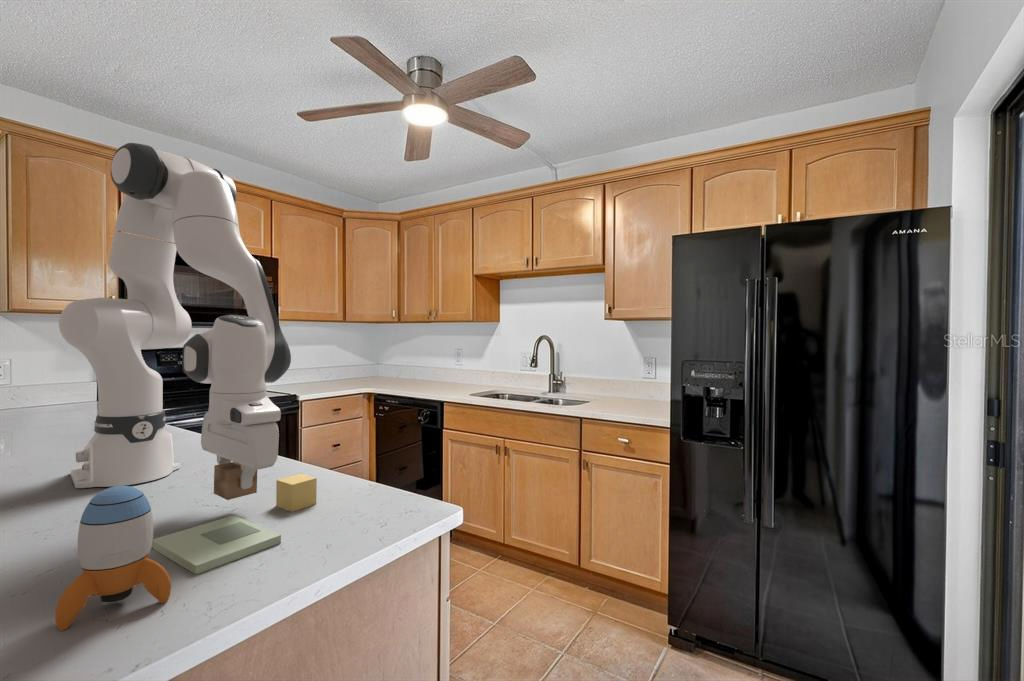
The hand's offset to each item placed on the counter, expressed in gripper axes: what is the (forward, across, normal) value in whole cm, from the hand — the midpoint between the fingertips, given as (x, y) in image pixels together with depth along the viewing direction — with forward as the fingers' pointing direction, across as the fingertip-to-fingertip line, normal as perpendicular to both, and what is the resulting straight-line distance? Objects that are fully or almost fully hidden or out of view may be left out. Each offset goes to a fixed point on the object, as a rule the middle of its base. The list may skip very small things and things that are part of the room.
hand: (235, 483), depth 86 cm
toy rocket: (+5, +19, -22) cm, 30 cm away
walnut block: (+2, 0, 0) cm, 2 cm away
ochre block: (+5, +5, +9) cm, 11 cm away
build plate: (+5, +11, -8) cm, 15 cm away
